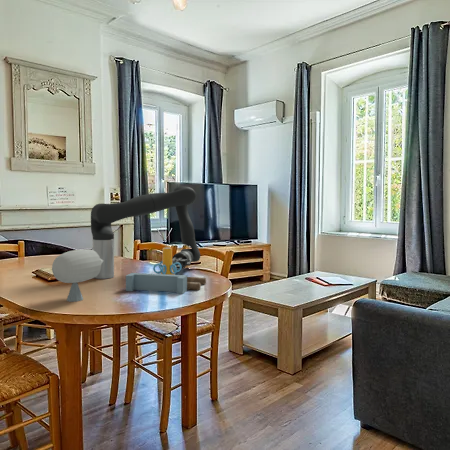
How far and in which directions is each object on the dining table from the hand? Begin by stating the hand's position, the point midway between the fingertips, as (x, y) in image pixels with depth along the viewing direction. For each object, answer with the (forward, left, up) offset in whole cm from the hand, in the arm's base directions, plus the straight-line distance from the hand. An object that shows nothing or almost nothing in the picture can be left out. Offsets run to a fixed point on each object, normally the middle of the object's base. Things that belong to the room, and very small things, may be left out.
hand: (171, 265), depth 177 cm
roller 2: (+12, -15, -7) cm, 20 cm away
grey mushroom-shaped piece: (-22, -38, -7) cm, 44 cm away
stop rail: (0, -20, -7) cm, 22 cm away
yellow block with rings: (0, -6, -7) cm, 9 cm away
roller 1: (+12, -4, -4) cm, 13 cm away
